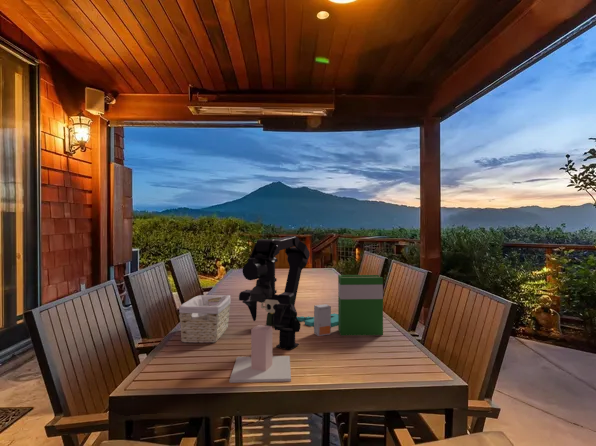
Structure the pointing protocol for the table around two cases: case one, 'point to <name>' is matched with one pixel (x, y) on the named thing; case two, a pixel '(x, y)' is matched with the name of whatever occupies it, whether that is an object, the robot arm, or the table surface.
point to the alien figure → (310, 320)
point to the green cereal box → (360, 305)
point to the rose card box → (261, 347)
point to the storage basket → (204, 318)
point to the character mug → (270, 310)
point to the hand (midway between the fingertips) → (266, 322)
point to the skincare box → (322, 320)
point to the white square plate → (273, 374)
